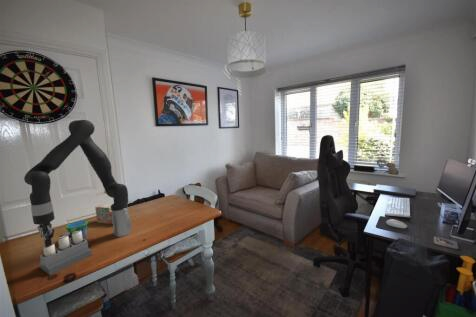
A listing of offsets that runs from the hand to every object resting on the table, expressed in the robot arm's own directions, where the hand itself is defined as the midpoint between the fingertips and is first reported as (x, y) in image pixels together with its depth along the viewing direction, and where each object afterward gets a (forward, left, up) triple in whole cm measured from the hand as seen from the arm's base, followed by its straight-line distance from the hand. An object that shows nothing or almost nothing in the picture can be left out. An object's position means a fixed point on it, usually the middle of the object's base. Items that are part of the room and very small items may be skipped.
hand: (48, 245), depth 103 cm
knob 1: (0, 0, -6) cm, 6 cm away
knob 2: (-12, 0, -5) cm, 13 cm away
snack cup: (-20, -20, -12) cm, 31 cm away
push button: (-12, -12, -12) cm, 21 cm away
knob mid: (-6, 0, -5) cm, 8 cm away
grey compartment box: (-6, 0, -12) cm, 13 cm away
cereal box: (-44, -27, -12) cm, 53 cm away
